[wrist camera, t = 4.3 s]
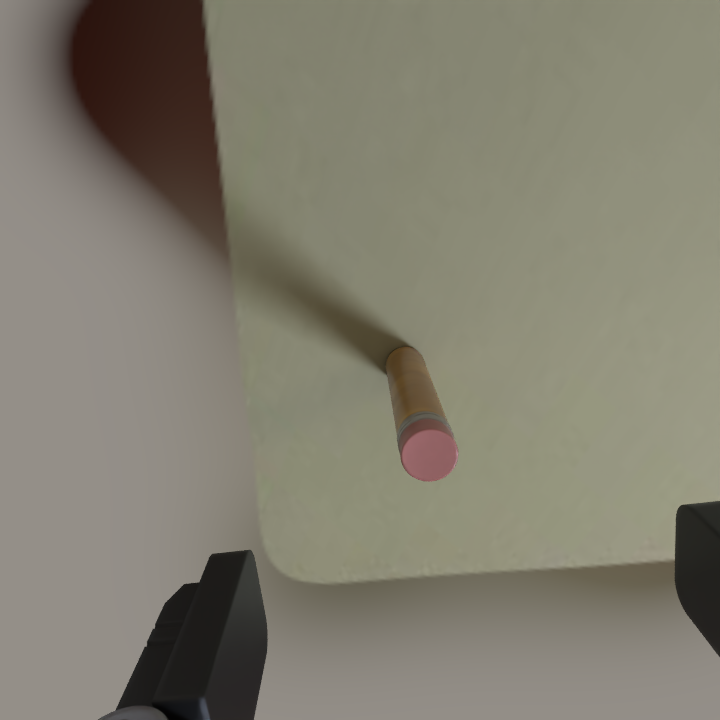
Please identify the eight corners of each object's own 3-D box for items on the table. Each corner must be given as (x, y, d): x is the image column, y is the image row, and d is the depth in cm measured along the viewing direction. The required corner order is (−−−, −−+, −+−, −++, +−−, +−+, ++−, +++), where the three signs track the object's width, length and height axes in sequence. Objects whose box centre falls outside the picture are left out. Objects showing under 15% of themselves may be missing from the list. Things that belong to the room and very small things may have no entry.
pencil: (382, 380, 26) (395, 478, 17) (388, 343, 26) (405, 424, 17) (421, 386, 26) (453, 486, 17) (427, 348, 26) (464, 432, 17)
